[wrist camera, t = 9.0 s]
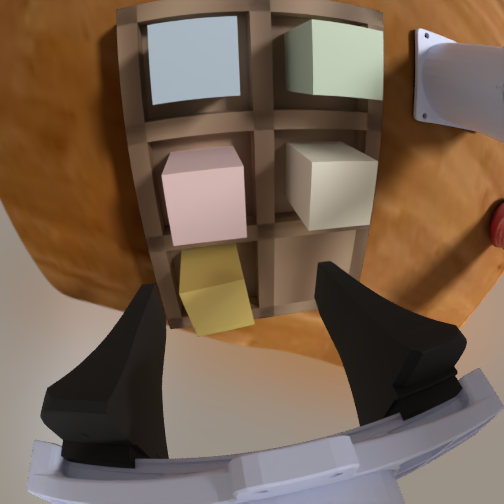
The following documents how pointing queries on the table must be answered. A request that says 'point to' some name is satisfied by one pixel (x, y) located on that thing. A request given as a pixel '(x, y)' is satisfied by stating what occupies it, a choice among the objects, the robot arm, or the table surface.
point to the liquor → (498, 227)
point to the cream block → (330, 184)
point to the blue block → (194, 59)
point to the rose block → (205, 195)
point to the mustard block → (214, 289)
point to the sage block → (334, 60)
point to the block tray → (246, 147)
